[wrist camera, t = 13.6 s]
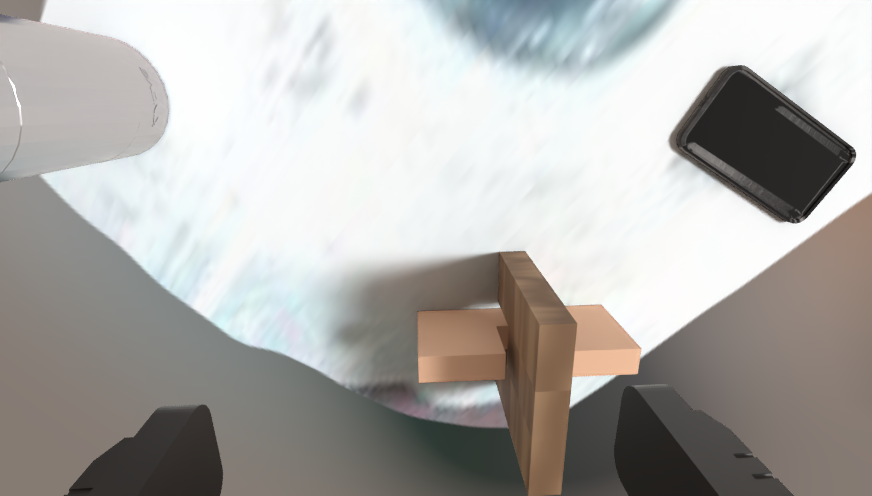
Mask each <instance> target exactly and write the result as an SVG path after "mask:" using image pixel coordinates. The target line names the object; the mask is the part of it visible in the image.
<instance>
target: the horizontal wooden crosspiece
mask: <svg viewBox="0 0 872 496" xmlns="http://www.w3.org/2000/svg"><path fill="white" fill-rule="evenodd" d="M565 307H566V308H567V310H568V311H569V313H570V314H571V315H572V317H573V318H574V320H575V321H576V322H577V333H576V343H575V354H574V364H573V374H572V377H576V376H600V375H622V374H637V373H638V367H639V360H640V354H641V348H640V347H639V345H638V344H637V343H636V342H635V341H634V340H633V339H632V338H631V337H630V336H629V334H628V333H627V332H626V331H625V330H624V329H623V328H622V327H621V326H620V325H619V323H618V322H617V321H616V320H615V319H614V318H613V317H612V316H611V315H610V314H609V312H608V311H607V310H606V309H605V308H604V307H603V306H602V305H583V306H565ZM507 345H508V324H507V322H506V319H505V317H504V314H503V312H502V310H501V308H497V309H468V310H439V311H418V370H419V383H428V382H452V381H477V380H502V379H505V363H506V353H505V350H504V349H507Z"/></svg>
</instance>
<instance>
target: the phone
mask: <svg viewBox="0 0 872 496" xmlns="http://www.w3.org/2000/svg"><path fill="white" fill-rule="evenodd" d="M719 79H720V80H719ZM706 98H707V99H706ZM705 99H706V100H705ZM704 101H705V102H704ZM703 102H704V103H703ZM701 105H702V106H701ZM677 145H678V148H679V149H680V150H682V151H683V152H685V153H686V154H688V155H689V156H690V157H692V158H693V159H695V160H696V161H698V162H699V163H701V164H702V165H704V166H705V167H707V168H708V169H709V170H711V171H712V172H714V173H715V174H717V175H718V176H720V177H721V178H723V179H724V180H726V181H727V182H728V183H730V184H731V185H733V186H734V187H736V188H737V189H739V190H740V191H742V192H743V193H745V194H746V195H747V196H749V197H750V198H752V199H753V200H755V201H756V202H758V203H759V204H761V205H762V206H764V207H765V208H766V209H768V210H769V211H771V212H772V213H774V214H775V215H777V216H778V217H780V218H781V219H783V220H785V221H787V222H790V223H800V222H802V221H804V220H805V219H806V218H807V217H808V216H809V215H810V214H811V212H812V211H813V210H814V209H815V208H816V207H817V205H818V204H819V203H820V202H821V201H822V200H823V198H824V197H825V196H826V195H827V194H828V193H829V191H830V190H831V189H832V188H833V187H834V186H835V184H836V183H837V182H838V181H839V180H840V179H841V178H842V176H843V175H844V174H845V173H846V172H847V171H848V169H849V168H850V167H851V166H852V164H853V163H854V161H855V158H856V152H855V149H854V148H853V147H852V146H850V145H849V144H848V143H846V142H845V141H844V140H842V139H841V138H840V137H839V136H837V135H836V134H835V133H833V132H832V131H831V130H829V129H828V128H827V127H825V126H824V125H823V124H821V123H820V122H819V121H818V120H816V119H815V118H814V117H812V116H811V115H810V114H808V113H807V112H806V111H804V110H803V109H802V108H800V107H799V106H798V105H797V104H795V103H794V102H793V101H791V100H790V99H789V98H787V97H786V96H785V95H783V94H782V93H781V92H780V91H778V90H777V89H776V88H774V87H773V86H772V85H770V84H769V83H768V82H766V81H765V80H764V79H762V78H761V77H760V76H759V75H757V74H756V73H755V72H753V71H752V70H751V69H749V68H748V67H746V66H742V65H738V66H732V67H729V68H727V69H726V70H725V71H724V72H723V73H722V74H721V75H720V77H719V78H718V79H717V81H716V82H715V83H714V85H713V86H712V88H711V89H710V90H709V92H708V93H707V94H706V96H705V97H704V99H703V100H702V101H701V103H700V104H699V105H698V107H697V108H696V110H695V111H694V112H693V114H692V115H691V116H690V118H689V119H688V121H687V122H686V123H685V125H684V126H683V127H682V129H681V130H680V132H679V133H678V135H677Z"/></svg>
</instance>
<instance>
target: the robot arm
mask: <svg viewBox="0 0 872 496" xmlns="http://www.w3.org/2000/svg"><path fill="white" fill-rule="evenodd" d="M168 114H169V105H168V97H167V94H166V90H165V87H164V84H163V82H162V80H161V78H160V76H159V74H158V72H157V71H156V70H155V69H154V67H153V66H152V65H151V63H150V62H149V61H148V60H147V59H146V58H145V57H144V56H143V55H142V54H141V53H140V52H138V51H137V50H136V49H134V48H132V47H131V46H129V45H128V44H126V43H124V42H122V41H119V40H117V39H114V38H111V37H106V36H102V35H97V34H92V33H87V32H83V31H78V30H74V29H70V28H65V27H60V26H55V25H50V24H46V23H41V22H36V21H30V20H26V19H21V18H16V17H11V16H7V15H2V14H0V182H3V181H8V180H13V179H18V178H23V177H28V176H33V175H39V174H44V173H49V172H54V171H59V170H64V169H69V168H74V167H79V166H84V165H89V164H94V163H100V162H105V161H110V160H115V159H120V158H125V157H129V156H134V155H138V154H141V153H143V152H145V151H147V150H149V149H150V148H151V147H152V146H153V145H155V144H156V143H157V142H158V140H159V139H160V138H161V136H162V135H163V133H164V131H165V128H166V125H167V122H168ZM614 458H615V465H616V469H617V473H618V475H619V478H620V481H621V483H622V485H623V486H624V488H625V490H626V492H627V494H628V496H794V495H793V494H792V493H791V492H790V491H789V490H788V489H787V488H786V487H785V486H784V485H783V484H782V483H781V482H780V481H779V480H778V479H776V478H775V479H774V478H773V477H772V473H771V471H769V469H768V468H767V467H766V466H765V465H764V464H763V463H762V462H761V461H760V460H759V459H758V458H754V457H753V455H752V452H751V451H750V450H749V449H748V448H747V447H746V446H745V445H744V444H743V442H741V440H740V439H739V438H738V437H737V436H736V435H735V434H734V433H733V432H732V431H731V430H730V429H729V428H727V427H725V426H724V425H723V424H721V423H719V422H718V421H716V420H715V419H713V418H712V417H710V416H708V415H707V414H706V413H704V412H702V411H701V410H695V411H693V409H692V408H691V407H690V406H689V405H688V404H687V403H686V402H685V401H684V400H683V399H682V397H680V395H679V394H678V393H677V392H676V391H675V390H674V389H673V388H672V387H671V386H669V385H667V384H658V385H639V386H638V385H637V386H627V387H626V388H625V389H624V392H623V395H622V400H621V407H620V413H619V420H618V426H617V433H616V439H615V445H614ZM222 481H223V470H222V464H221V459H220V454H219V450H218V445H217V441H216V436H215V431H214V427H213V422H212V417H211V413H210V410H209V408H208V407H207V406H206V405H186V406H185V405H184V406H164V407H160V408H158V409H157V410H156V411H155V412H154V413H153V414H152V415H151V416H150V418H149V419H148V420H147V421H146V423H145V424H144V425H143V427H142V428H141V429H140V430H139V431H138V433H137V434H136V435H135V436H134V437H133V438H132V437H131V438H124V439H123V440H121V441H120V442H119V443H117V444H116V445H114V446H113V447H112V448H110V449H109V450H108V451H106V452H105V453H104V454H102V455H101V456H100V457H98V458H97V459H96V460H94V461H93V462H92V463H91V464H90V466H89V467H88V468H87V469H86V470H85V471H84V473H83V474H82V475H81V476H80V477H79V478H78V480H77V481H76V482H75V483H74V484H73V486H72V487H71V488H70V489H69V494H68V495H64V496H220V494H221V489H222Z"/></svg>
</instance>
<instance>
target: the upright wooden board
mask: <svg viewBox="0 0 872 496" xmlns="http://www.w3.org/2000/svg"><path fill="white" fill-rule="evenodd" d="M498 302H499V305H500V307H501V310H502V312H503V314H504V317H505V319H506V322H507V324H508V345H507V349H504V350H505V353H506V363H505V379H502V380H495V381H496V384H497V388H498V391H499V395H500V398H501V402H502V405H503V409H504V412H505V416H506V420H507V423H508V427H509V430H510V434H511V437H512V441H513V444H514V448H515V451H516V455H517V458H518V462H519V465H520V469H521V472H522V476H523V479H524V483H525V486H526V489H527V493H528V496H542V495H560V494H561V487H562V477H563V467H564V457H565V445H566V436H567V425H568V415H569V405H570V395H571V384H572V374H573V364H574V354H575V343H576V333H577V322H576V321H575V320H574V318H573V317H572V315H571V314H570V313H569V311H568V310H567V308H566V307H565V306H564V304H563V303H562V302H561V300H560V299H559V297H558V296H557V295H556V293H555V292H554V290H553V289H552V288H551V286H550V285H549V284H548V282H547V281H546V279H545V278H544V277H543V275H542V274H541V272H540V271H539V270H538V268H537V267H536V266H535V264H534V263H533V261H532V260H531V259H530V257H529V256H528V254H527V253H526V252H525V251H518V252H500V254H499V285H498Z"/></svg>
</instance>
